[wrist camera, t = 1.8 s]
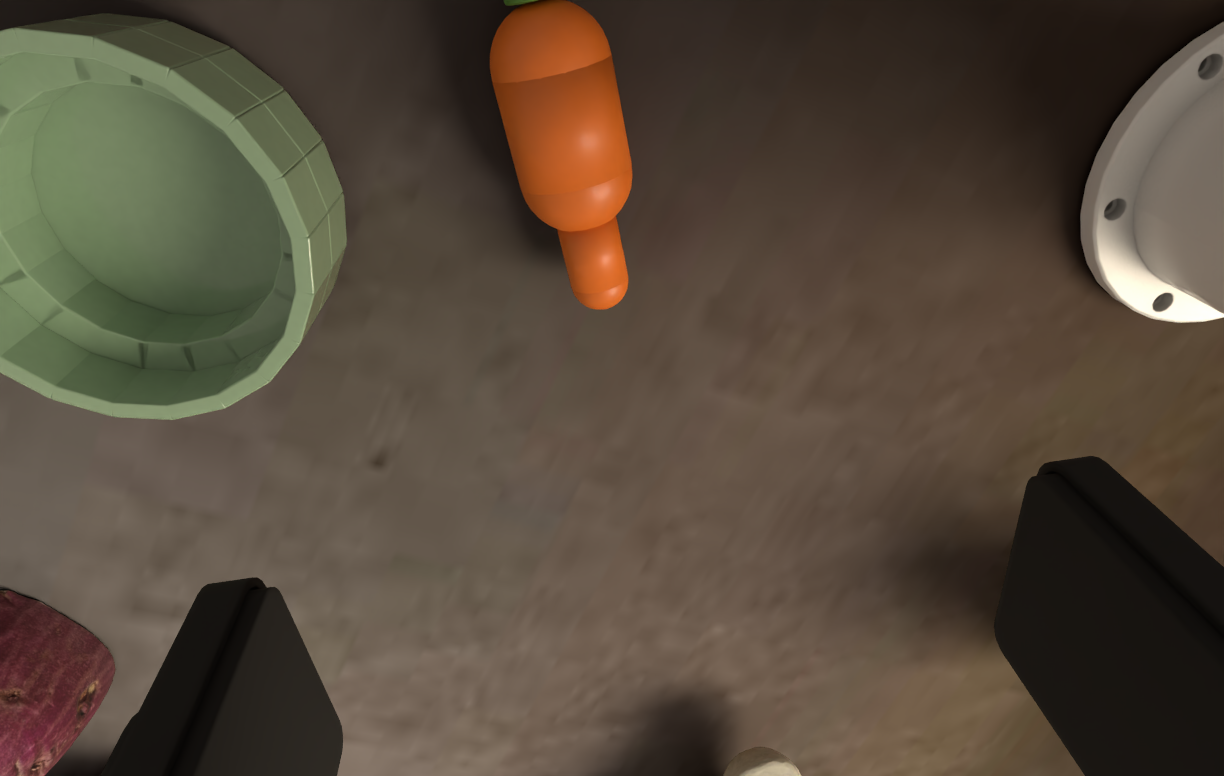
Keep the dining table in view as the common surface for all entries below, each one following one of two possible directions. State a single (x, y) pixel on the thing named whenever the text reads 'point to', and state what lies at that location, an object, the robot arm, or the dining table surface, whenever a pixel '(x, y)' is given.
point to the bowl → (155, 218)
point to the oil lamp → (761, 764)
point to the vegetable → (45, 684)
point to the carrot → (567, 136)
